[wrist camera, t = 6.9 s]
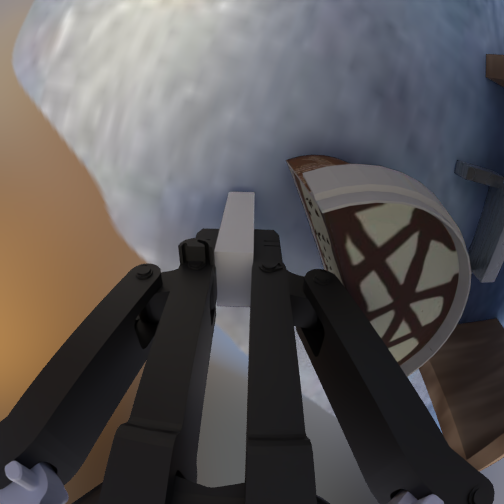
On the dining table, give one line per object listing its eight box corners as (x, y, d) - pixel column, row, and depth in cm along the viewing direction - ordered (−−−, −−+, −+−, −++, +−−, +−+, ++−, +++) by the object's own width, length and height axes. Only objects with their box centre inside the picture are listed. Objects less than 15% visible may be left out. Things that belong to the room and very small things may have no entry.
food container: (400, 264, 21) (462, 358, 12) (330, 290, 22) (367, 400, 13) (369, 108, 15) (482, 139, 6) (277, 137, 16) (315, 194, 7)
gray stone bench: (457, 159, 16) (481, 173, 13) (506, 175, 16) (528, 188, 13) (425, 269, 21) (441, 291, 18) (474, 269, 21) (490, 289, 18)
